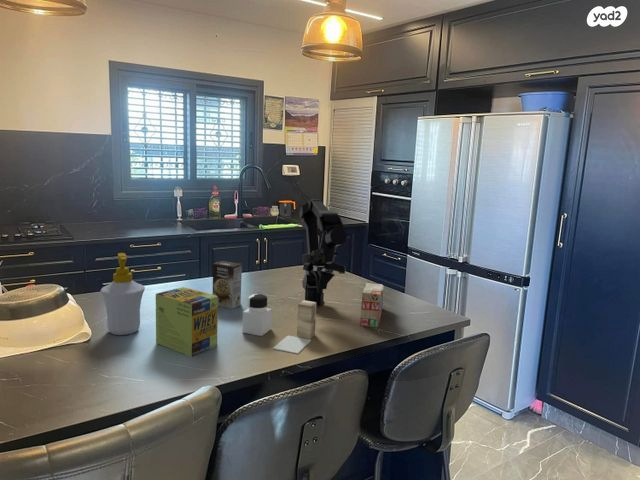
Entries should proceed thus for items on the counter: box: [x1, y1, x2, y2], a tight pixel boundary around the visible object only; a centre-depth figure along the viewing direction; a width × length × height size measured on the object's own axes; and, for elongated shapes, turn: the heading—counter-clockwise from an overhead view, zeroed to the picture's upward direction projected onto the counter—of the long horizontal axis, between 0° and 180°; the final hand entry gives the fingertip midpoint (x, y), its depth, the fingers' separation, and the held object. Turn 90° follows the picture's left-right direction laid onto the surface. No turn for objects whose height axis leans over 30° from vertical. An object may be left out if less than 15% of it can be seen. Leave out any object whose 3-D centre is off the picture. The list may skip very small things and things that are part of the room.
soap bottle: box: [100, 252, 146, 336], centre depth 146 cm, size 13×13×25 cm
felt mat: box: [272, 335, 312, 355], centre depth 144 cm, size 11×8×1 cm
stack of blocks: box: [359, 282, 385, 328], centre depth 172 cm, size 21×6×12 cm, turn 168°
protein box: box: [155, 286, 219, 357], centre depth 139 cm, size 10×15×16 cm
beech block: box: [296, 299, 317, 340], centre depth 151 cm, size 4×4×11 cm
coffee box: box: [212, 260, 243, 310], centre depth 176 cm, size 9×6×16 cm
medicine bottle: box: [242, 293, 273, 337], centre depth 153 cm, size 7×7×12 cm
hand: (318, 292), depth 160 cm, fingers closed
